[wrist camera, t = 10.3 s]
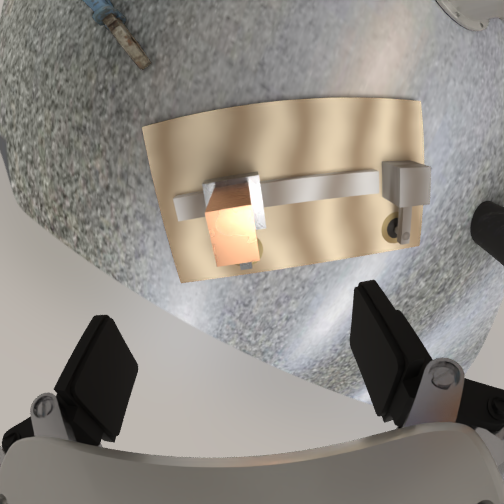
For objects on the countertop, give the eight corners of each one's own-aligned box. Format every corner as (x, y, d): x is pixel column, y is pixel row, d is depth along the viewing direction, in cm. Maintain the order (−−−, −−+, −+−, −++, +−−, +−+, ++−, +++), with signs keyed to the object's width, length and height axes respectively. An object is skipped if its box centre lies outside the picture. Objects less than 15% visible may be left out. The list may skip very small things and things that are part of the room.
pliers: (163, 66, 23) (146, 54, 18) (146, 78, 23) (126, 69, 18) (92, -27, 15) (71, -44, 10) (78, -16, 16) (56, -31, 10)
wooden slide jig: (413, 101, 25) (441, 101, 20) (413, 240, 33) (435, 260, 28) (146, 126, 26) (127, 128, 21) (183, 276, 34) (174, 303, 29)
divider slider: (257, 169, 26) (266, 195, 17) (269, 257, 30) (281, 314, 22) (205, 178, 26) (188, 207, 18) (223, 264, 31) (217, 323, 22)
